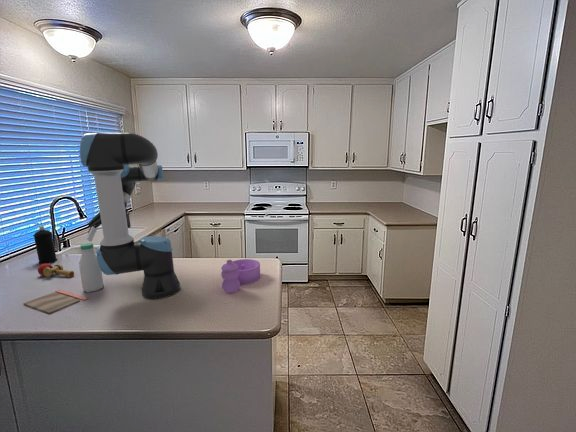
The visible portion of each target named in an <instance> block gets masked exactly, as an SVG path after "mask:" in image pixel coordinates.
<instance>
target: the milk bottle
mask: <svg viewBox="0 0 576 432" xmlns="http://www.w3.org/2000/svg"><path fill="white" fill-rule="evenodd" d="M94 250H95V249H94V244H93V243H92V242H91V243H82V244H81V245H80V251H81V256H80V260H79V263H78V264H79V273H80V274H79V275H80V279H81V285H82V289H83V292H87V293H90V292H94V291H99V290H101V289H102V288H103V287H104V277H103V272H102V271H101V269H100V267H99V264H98V261H97V254H96V252H95V251H94Z"/></svg>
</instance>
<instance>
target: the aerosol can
mask: <svg viewBox="0 0 576 432" xmlns="http://www.w3.org/2000/svg"><path fill="white" fill-rule="evenodd" d="M33 237H34V239H33V240H34V243H35V248H36V254H37V260H38V264H39V265H42V264H45V263H48V264H53V263H55V262H57V261H58V259H57V255H56V250H55V243H54V239H53V232H52V231H50V230H47V229H45V227H44V225H41V226H39V230H37V231H36V232H35V233H34V234H33Z"/></svg>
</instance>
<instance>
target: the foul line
mask: <svg viewBox="0 0 576 432" xmlns="http://www.w3.org/2000/svg"><path fill="white" fill-rule="evenodd" d="M54 292H56V293H59V294H62V295H66V296H69V297H72V298H75V299H79V300H80V301H84V302H85V301H87V300H89V298H88V297H85V296H81V295H78V294H74V293H73V292H72V293H71V292H68V291H65V290H61V289H56V290H55V291H54Z"/></svg>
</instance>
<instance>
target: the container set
mask: <svg viewBox="0 0 576 432" xmlns="http://www.w3.org/2000/svg"><path fill="white" fill-rule="evenodd" d="M220 270H221V274H220V275H221V277H222V279H223V280H222V281H221V282H222V283H221V288H222V290H223V291H224V292H225V293H227V294H232V293H236V292H237V291H239V289H240V286H241V285H250V284H254V283H256V282H258V281H259V280H260V279H261V264H260V261H259V260H255V259H252V258H251V259H250V258H243V259H242V258H241V259H237V260H232V259H227V260H226V263H224V264H222V265H221V269H220Z"/></svg>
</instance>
